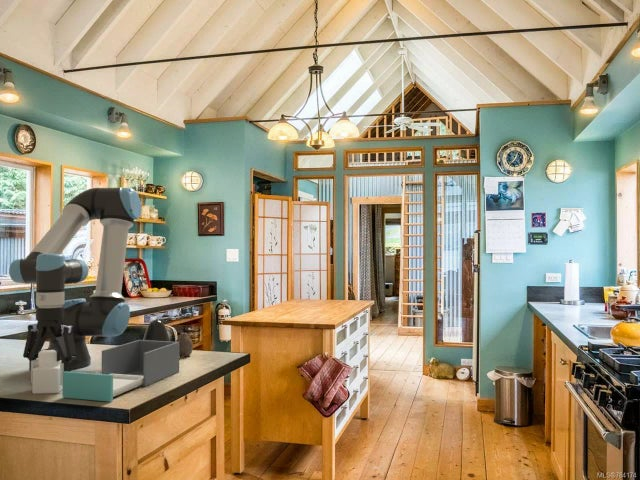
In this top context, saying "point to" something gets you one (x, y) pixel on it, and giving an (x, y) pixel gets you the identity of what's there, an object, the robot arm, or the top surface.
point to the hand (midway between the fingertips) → (49, 383)
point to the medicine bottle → (47, 372)
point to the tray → (98, 385)
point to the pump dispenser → (156, 331)
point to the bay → (143, 360)
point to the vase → (184, 345)
